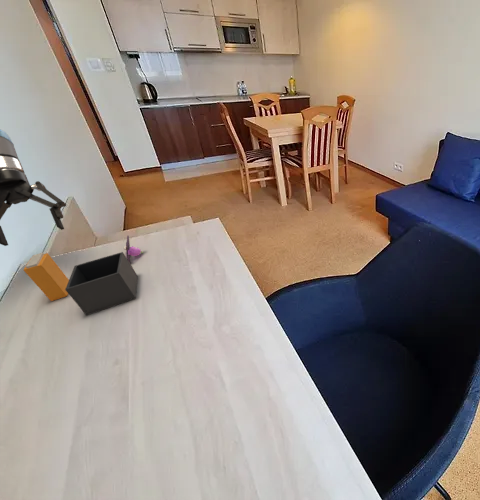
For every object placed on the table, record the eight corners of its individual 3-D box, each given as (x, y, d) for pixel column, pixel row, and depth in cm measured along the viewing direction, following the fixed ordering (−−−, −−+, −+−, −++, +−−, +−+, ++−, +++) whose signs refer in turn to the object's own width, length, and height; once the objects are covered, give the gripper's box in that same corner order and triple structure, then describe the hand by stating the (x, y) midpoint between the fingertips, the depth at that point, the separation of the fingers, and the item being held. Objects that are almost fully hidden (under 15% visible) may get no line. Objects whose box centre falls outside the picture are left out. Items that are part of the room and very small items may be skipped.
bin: (86, 315, 84) (65, 289, 78) (93, 290, 93) (74, 265, 87) (135, 298, 88) (119, 272, 83) (137, 276, 97) (122, 251, 92)
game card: (124, 235, 106) (123, 247, 100) (142, 235, 109) (142, 246, 102) (126, 252, 109) (125, 264, 102) (143, 251, 112) (143, 263, 105)
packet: (51, 301, 90) (21, 268, 83) (56, 288, 95) (29, 255, 88) (67, 296, 91) (39, 263, 84) (71, 283, 97) (46, 251, 89)
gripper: (63, 170, 102) (87, 225, 100) (-38, 192, 91) (-13, 254, 89) (51, 158, 95) (77, 217, 93) (-59, 181, 85) (-33, 248, 83)
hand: (33, 236), depth 91 cm, fingers open, 13 cm apart
